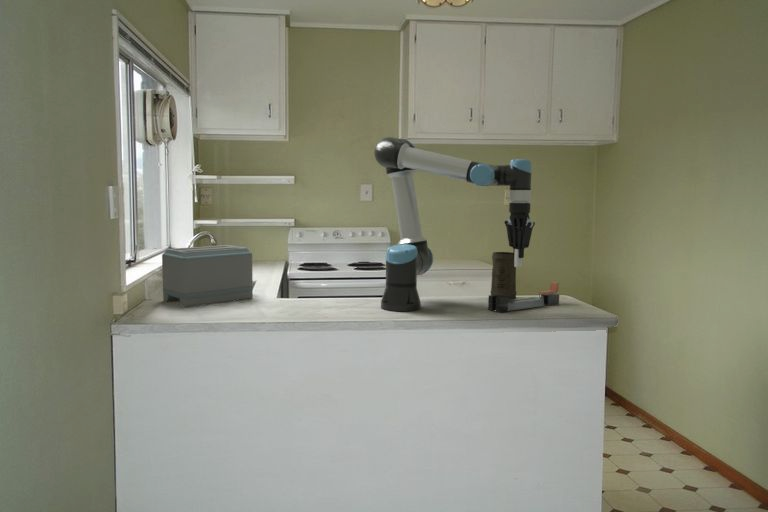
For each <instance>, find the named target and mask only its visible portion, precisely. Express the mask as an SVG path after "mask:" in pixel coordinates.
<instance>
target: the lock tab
mask: <svg viewBox="0 0 768 512" xmlns="http://www.w3.org/2000/svg"><path fill="white" fill-rule="evenodd" d="M549 283H550V286H549V290H540V291H538V294H551V293H555V294H558V292H559V288H560V287H559V285H560V284H559V283H560V282H555V281H550V282H549Z"/></svg>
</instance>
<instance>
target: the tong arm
mask: <svg viewBox="0 0 768 512" xmlns="http://www.w3.org/2000/svg"><path fill="white" fill-rule="evenodd" d="M540 307H545V306H544V299H542V298H539V297H538V298H536V299H528V300H520V301H513V302H508V297H505V296H502V297H496V311H495V312H497V313H502V312H510V311H517V310H525V309H532V308H540Z"/></svg>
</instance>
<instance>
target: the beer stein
mask: <svg viewBox="0 0 768 512" xmlns="http://www.w3.org/2000/svg"><path fill="white" fill-rule="evenodd" d="M491 259H492V269H491V286H490V287H491V288H490V295H500V296H501V297H502V296H505V297H508V300H511V299H517V289H516V288H517V286H516V285H517V283H516V281H517V278H516V276H517V267H514V256H513V252H510V251H495V252H492V255H491Z"/></svg>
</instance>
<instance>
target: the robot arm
mask: <svg viewBox="0 0 768 512" xmlns="http://www.w3.org/2000/svg"><path fill="white" fill-rule="evenodd" d="M374 147H375V148H374V152H373V153H374V159H375V160H376V162H377V163H378V164H379V166H381V167H384V168H385V172H386V176H387V177H388V178H390V179H391V185H392V192H393V198H394V204H395V206H394V207H395V210H396V218H397V223H398V230H399V237H400V240H399V241H398V242H397V244H395V245H390V246H389V247H388V248H387V249H386V253H385V288H384V292H383V294H382V297H381V300H380V308H381V309H383V310H386V311H392V312H414V311H418V310H420V309H422V302H421V298H420V295H419V291H418V288H417V283H418V282H417V281H418V276H421V275H424V274H426V273H427V272H428V271H429V270H430V269H431V267H432V266H433V263H434V255H433V251H432V250H431V249H430V248H429V247H428V241H427V239H426V238H425V237H424V236H423V233H422V227H421V219H420V212H419V207H418V200H417V193H416V187H415V180H414V175H415V173H416V172H417V171H419V172H423V173H428V174H431V175H432V174H433V175H437V176H441V177H445V178H449V179H454V180H458V181H462V182H467V183H471V184H474V185H476V186H478V187H479V186H480V187H489V186H490V187H494V186H495V187H498V186H499V187H502V186H503V187H504V186H506V187H509V200H508V201H509V202H510V203H509V204H508V211H509V212H508V213H510V216H509V218H508V220H505V221H504V224H505V228H506V233H507V240H508V246H509V247H511V248H512V249H513V252H512V253H513V256H514V267H516V268H520V267H523V258H524V256H525V249H527V248H529V247H530V242H531V238H532V233H533V228H534V227H535V225H536V222H535V221H532V220H531V218H530V215H529V214H530V213H531V197H532V194H531V193H532V192H531V191H532V189H531V187H532V161H531V160H530V159H528V158H527V159H526V158H524V159H522V158H517V159H511V160H510V163H509V164H506V165H505V164H504V165H503V164H496V165H495V164H487V163H483V162H482V163H481V162H478V161H473V160H469V159H465V158H461V157H457V156H456V157H454V156H452V155H446V154H442V153H439V152H438V153H437V152H433V151H428V150H424V149H420V148H416V146H415V145H414V144H413V143H412V142H410V141H409V140H407V139H405V138H397V137H392V136H391V137H390V136H389V137H384V138H381V139H380V140H379V141H378V142H377V143H376V145H375V146H374Z"/></svg>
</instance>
